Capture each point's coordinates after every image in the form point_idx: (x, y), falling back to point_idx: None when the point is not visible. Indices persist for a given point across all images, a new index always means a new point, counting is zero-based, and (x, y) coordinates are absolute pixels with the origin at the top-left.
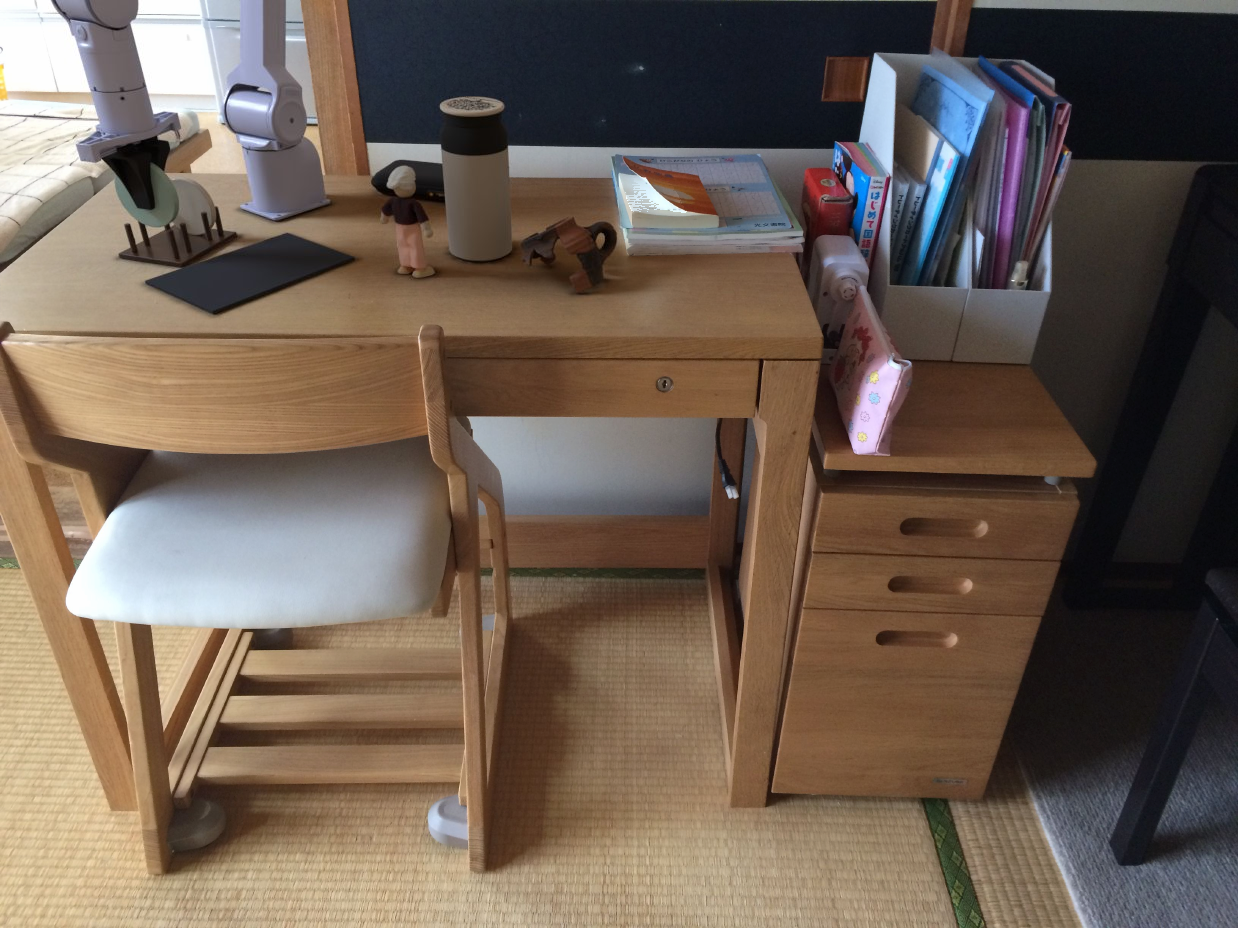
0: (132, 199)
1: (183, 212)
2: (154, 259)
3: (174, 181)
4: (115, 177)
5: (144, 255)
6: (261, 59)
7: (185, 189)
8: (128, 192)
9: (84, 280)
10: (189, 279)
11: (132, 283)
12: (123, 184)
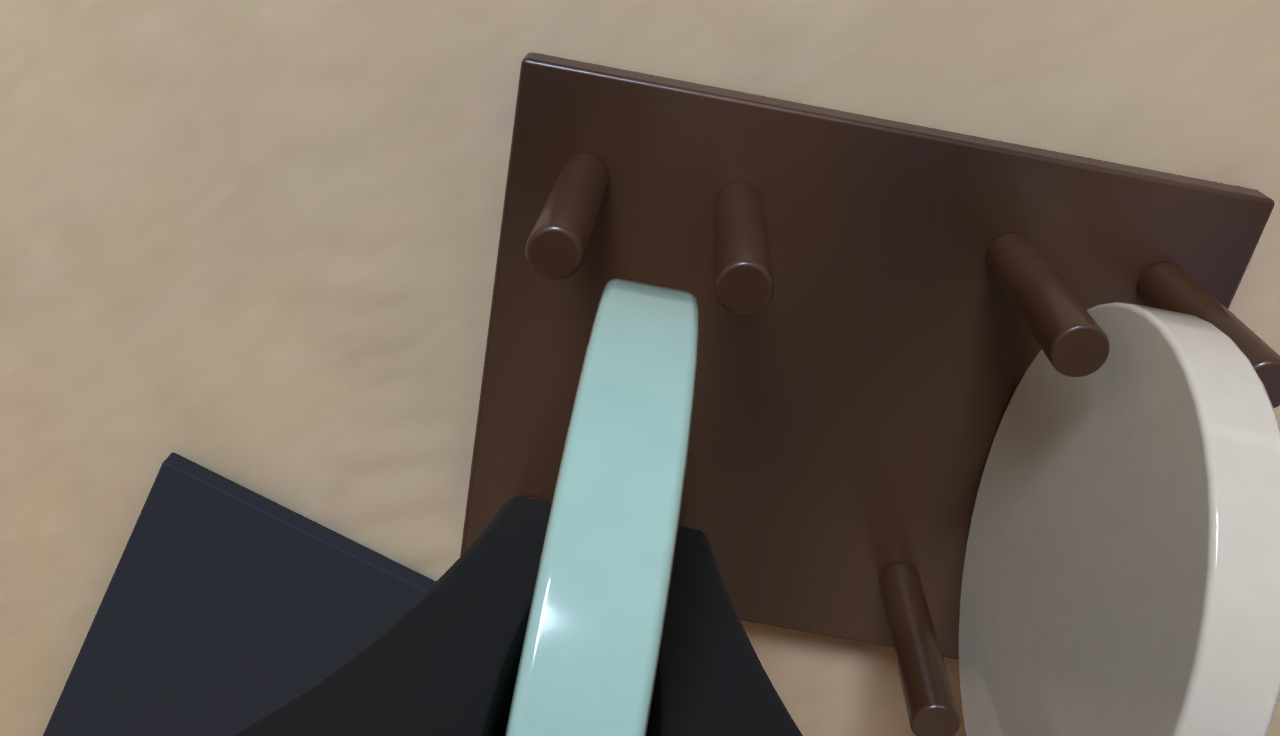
0: (480, 537)
1: (1058, 501)
2: (482, 379)
3: (1173, 694)
4: (564, 461)
5: (530, 282)
6: None
7: (1099, 732)
8: (445, 575)
9: (76, 15)
10: (265, 683)
11: (156, 368)
12: (393, 625)
